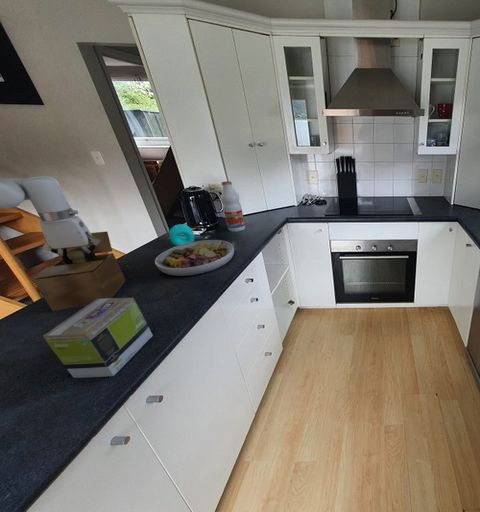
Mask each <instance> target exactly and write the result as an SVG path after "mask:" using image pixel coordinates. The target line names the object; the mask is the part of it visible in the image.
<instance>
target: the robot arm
mask: <svg viewBox="0 0 480 512" xmlns="http://www.w3.org/2000/svg"><path fill="white" fill-rule="evenodd" d="M24 201H30V203H31V204H32V206H33V208H34V209H35V211H36V213H37V214H38V216H39V218H40V221H39V224H40V229H41V232H42V234H43V237H44V239H45V242H44V244H43V246H42V249H43V250H46V251H48V252H51V253H52V254H56V255H57V257H60V256H61V259H63V260H64V262H65V263H66V264H67V265H68V264H73V261H72V260H71V259H69V258H68V257H67V248H70V247H79V246H80V247H81V248H82V249H83V250H84V251H85V252H86V254H85V255H86V257H87V259H88V261H89V262H92V261H96V256H95V255H96V253H95V254H94V252H93V250H94V249H95V247H96V246H97V245H98V244H99V243H100V242H101V240H99V239H97V238H95V237H93V236H92V234H91V233H92V232H91V231H90V229H89V228H88V226H87V225H86V223H85V222H84V221H83V220H82V218H81V217H80V216H79V210H77V209H75V210H74V209H73V208H72V207H71V204H70V203H69V201H68V199H67V198H66V195H65V193H64V191H63V190H62V187H61V185H60V184H59V182H58V180H57V179H56V178H55V177H53V176H50V175H49V176H48V175H47V176H46V175H39V176H31V177H24V178H23V177H21V178H19V177H17V178H16V177H0V209H3V210H7V209H14V208H17V207H18V206H20V205H21V204H22V203H24ZM91 241H92V242H93V244H92V245H90V244H89V243H88V242H91Z"/></svg>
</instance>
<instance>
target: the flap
mask: <svg viewBox="0 0 480 512" xmlns="http://www.w3.org/2000/svg"><path fill="white" fill-rule="evenodd" d="M90 233H91V234H92V236H93V237H95V238H97V239H99V240H101V242H100V243H99V244H98V245H97V246H96V247H95V249H94V250H93V252H94V254H95V255H96V254H104V253H113V248H112V245H111V240H110V237H109V232H108V231H97V232H90ZM88 243H89V244H90V245H92V244H93V242H92V241H91V242H88ZM78 248H81V247H80V246H79V247H70V248H67V252H69V251H70V250H73V249H78ZM59 258H61V259H62V257H61V256H59Z"/></svg>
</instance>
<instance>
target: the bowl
mask: <svg viewBox="0 0 480 512" xmlns="http://www.w3.org/2000/svg"><path fill="white" fill-rule="evenodd" d="M234 254H235V247H234V245H233V243H231V242H230V241H226V240H220V239H207V240H206V239H205V240H196V241H194V242H191V243H186V244H183V245H179V246H176V245H175V246H174V247H171V248H169V249H167V250H165V251H162V252H161V253H159V255H157V256H156V258H155V260H154V264H155V266H156V268H157V269H158V270H159V271H160V272H162V273H164V274H166V275H169V276H177V277H187V276H197V275H201V274H205V273H208V272H212V271H215V270H217V269H219V268H221V267H223V266H224V265H226V264H227V263H228V262H230V261H231V260H232V258H233V257H234Z"/></svg>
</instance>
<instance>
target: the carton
mask: <svg viewBox="0 0 480 512" xmlns="http://www.w3.org/2000/svg"><path fill="white" fill-rule="evenodd" d="M95 256H96V261H92V262H84V263H76V264H68V265H67V264H66V263H65V262H64V260H63V258H61V259H59V260H58V261H56V263H54V264H53V265H51V266H46V267H45V268H43V269H42V270H40V271H39V272H38V273H36V274H35V275H34V276H32V277H31V279H32V281H33V283H34V285H35V286H36V288H37V289H38V291H39V292H40V294H41V295H42V297H43V298H44V300H45V302H46V303H47V305H48V306H49V308H50V309H51V311H52V312H58V311H64V310H70V309H75V308H81V307H82V308H83V307H86V306H87V305H88V304H90V303H91V302H93V301H94V300H96V299H97V298H98V299H106V298H114V296H116V294H117V292H118V291H119V290H120V289H121V287H122V286H123V285H124V283H125V282H126V281H127V280H126V278H125V276H124V273H123V272H122V271H123V270H122V269H121V267H120V265H119V263H118V261H117V258H116V256H115V254H114V252H109V253H100V254H95ZM95 268H96V269H95ZM94 269H95V270H94ZM93 270H94V271H93ZM88 271H93V272H88ZM81 272H87V273H81ZM76 273H80V274H76ZM47 295H48V296H47Z"/></svg>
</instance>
